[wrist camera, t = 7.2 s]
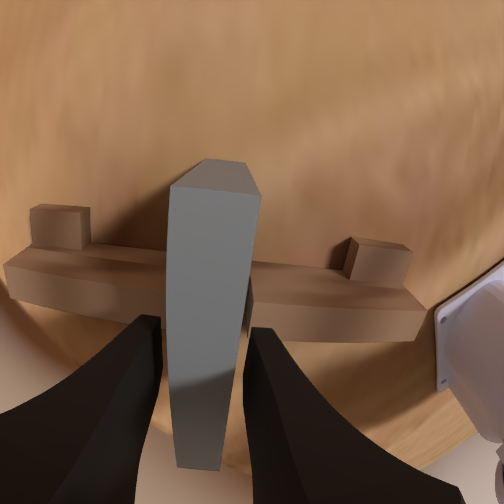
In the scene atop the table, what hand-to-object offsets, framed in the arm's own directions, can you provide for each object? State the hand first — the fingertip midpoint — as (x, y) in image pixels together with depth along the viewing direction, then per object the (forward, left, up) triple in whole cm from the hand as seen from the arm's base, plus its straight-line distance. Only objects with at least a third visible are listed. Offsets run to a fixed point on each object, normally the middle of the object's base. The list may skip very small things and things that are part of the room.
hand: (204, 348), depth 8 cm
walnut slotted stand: (0, 0, -5) cm, 5 cm away
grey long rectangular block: (0, 0, -5) cm, 5 cm away
